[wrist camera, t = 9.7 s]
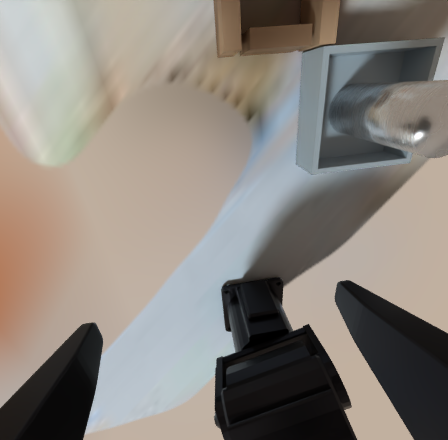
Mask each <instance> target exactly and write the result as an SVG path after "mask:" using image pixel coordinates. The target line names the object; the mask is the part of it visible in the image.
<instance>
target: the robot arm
mask: <svg viewBox="0 0 448 440" xmlns="http://www.w3.org/2000/svg"><path fill="white" fill-rule="evenodd" d="M277 282H279V283H277ZM226 290H228V291H226ZM221 293H222V302H223V311H224V321H225V328H226V331H228V332H230V331H231V332H232V337H233V342H234V347H235V352H236V353H233V354H230V355H228V356H225V357H223V356H222V357H219V358H217V365H216V373H215V378H216V379H215V416H214V420H215V424H216V426H217V427H219V428H220V429H221V432H222V434H223V438H224V440H357V438H356V436H355V434H354V432H353V429H352V427H351V425H350V422H349V420H348V418H347V416H346V413H345V411H344V410H346V409H348V408H351V407H352V406H351V402H350V399H349V396H348V394H347V392H346V389H345V387H344V385H343V382H342V380H341V378H340V376H339V374H338V372H337V371H336V368H335V366H334V365H333V363H332V361H331V359H330V358H329V356H328V354H327V353H326V351H325V349H324V348H323V346H322V345H321V343H320V341H319V340H318V338H317V337H316V335H315V333H314V332H313V330H312V329H311V327H310V325H309V324H308V325H305V326H303V328H300V329H298V330H295V331H293V329H292V327H291V325H290V323H289V321H288V318H287V317H286V314H285V312H284V310H283V308H282V298H283V281H282V279H281V278H272V279H265V280H259V281H253V282H246V283H240V284H234V285H228V286H224V287H222V289H221ZM335 302H336V305H337V307H338V309H339V310H340V313H341V315H342V317H343V319H344V321H345V323H346V325H347V327H348V329H349V332H350V334H351V336H352V338H353V340H354V341H355V343H356V345H357V347H358V348H359V350H360V351H361V353H362V355H363V356H364V358H365V360H366V361H367V363H368V365H369V366H370V368H371V370H372V371H373V373H374V374H375V376H376V378H377V379H378V381H379V383H380V384H381V386H382V388H383V389H384V391H385V392H386V394H387V396H388V397H389V399H390V401H391V402H392V404H393V406H394V407H395V409H396V411H397V412H398V414H399V416H400V417H401V419H402V420H403V422H404V424H405V425H406V427H407V429H408V430H409V432H410V433H411V435H412V437H413V438H414V440H448V333H446V332H444V331H442V330H441V329H439V328H437V327H435V326H433V325H431V324H429V323H428V322H426V321H424V320H422V319H420V318H418V317H416V316H415V315H413V314H411V313H409V312H407V311H405V310H404V309H402V308H400V307H398V306H396V305H394V304H392V303H390V302H389V301H387V300H385V299H383V298H381V297H379V296H377V295H375V294H374V293H371V292H370V291H368V290H366V289H364V288H363V287H361V286H359V285H357V284H355V283H353V282H352V281H349V280H346V281H340V282H338V283H337V288H336V293H335ZM102 347H103V338H102V335H101V333H100V331H99V329H98V327H97V325H96V323H86V324H82V325H81V326H80V327H79V328H78V329H77V330H76V331H75V332H74V333H73V334H72V335H71V336H70V337H69V338H68V339H67V340H66V341H65V342H64V343H63V344H62V346H60V347H59V348H58V349H57V351H55V353H54V354H53V355H52V356H51V357H50V358H49V359H48V360H47V361H46V362H45V363H44V364H43V365H42V366H41V367H40V368H39V369H38V370H37V371H36V372H35V373H34V374H33V375H32V376H31V377H30V378H29V379H28V380H27V381H26V382H25V383H24V384H23V385H22V386H21V387H20V389H19V390H18V391H17V392H16V393H15V394H14V395H13V396H12V397H11V398H10V399H9V400H8V401H7V402H6V403H5V404H4V405H3V406H2V407H1V408H0V440H83V438H84V434H85V430H86V426H87V422H88V418H89V415H90V411H91V407H92V403H93V399H94V395H95V391H96V385H97V379H98V373H99V366H100V360H101V353H102Z"/></svg>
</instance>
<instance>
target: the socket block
mask: <svg viewBox="0 0 448 440" xmlns="http://www.w3.org/2000/svg"><path fill="white" fill-rule="evenodd" d="M339 8H340V0H301V13H300V24H299V25H283V26H268V27H252V28H249V29H248V30H247V31H246V32H245V33H244V34H243V35H242V36H241V15H240V0H214V13H215V27H216V40H217V54H218V58H219V57H232V56H234V55H235V54H237V53H238V52H240V56H246V55H259V54H272V53H286V52H293V51H296V50H298V52H299V51H310V50H314V49H317V48H320V47H323V46H329V45H332V44H335V43H336V35H337V26H338V17H339Z"/></svg>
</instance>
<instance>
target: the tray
mask: <svg viewBox="0 0 448 440" xmlns="http://www.w3.org/2000/svg"><path fill="white" fill-rule="evenodd" d="M444 39H445V37H443V38H429V39H416V40H402V41H388V42H375V43H361V44H348V45H334V46H323V47H320V48H317V49H314V50H310V51H307V52H304V53H302V69H301V86H300V103H299V119H298V136H297V152H296V165H298V166H299V167H301V168H302V169H304V170H305V171H307V172H308V173H310V174H311V175H316V174H324V173H332V172H340V171H348V170H356V169H365V168H373V167H381V166H389V165H397V164H405V163H410V161H411V158H412V154H413V153H411V152H407V151H403V150H400V149H396V148H392V147H389V146H385V145H382V144H378V143H374V142H371V141H367V140H364V139H360V138H356V137H353V136H349V135H345V134H342V133H339V132H337V131H335V130H334V129H333V128H332V126H331V124H330V122H329V108H330V104H331V102H332V100H333V98H334V97H335V95H336V94H337V93H338V92H339V91H340V90H341V89H342V88H344V87H345V86H347V85H350V84H355V83H382V82H410V81H433V78H434V75H435V71H436V68H437V64H438V60H439V57H440V53H441V50H442V46H443V42H444Z"/></svg>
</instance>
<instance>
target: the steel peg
mask: <svg viewBox="0 0 448 440" xmlns="http://www.w3.org/2000/svg"><path fill="white" fill-rule="evenodd" d="M329 122H330V124H331V126H332V128H333V129H334V130H335V131H337V132H339V133H342V134H345V135H349V136H353V137H356V138H360V139H364V140H367V141H371V142H374V143H378V144H382V145H385V146H389V147H392V148H396V149H400V150H403V151H407V152H411V153H414V154H418V155H421V156H425V157H429V158H438V157H443V156H446V155H448V80H438V81H410V82H382V83H355V84H350V85H347V86H345V87H344V88H342V89H341V90H340V91H339V92H338V93H337V94H336V95H335V97H334V98H333V100H332V102H331V104H330V108H329Z"/></svg>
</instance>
